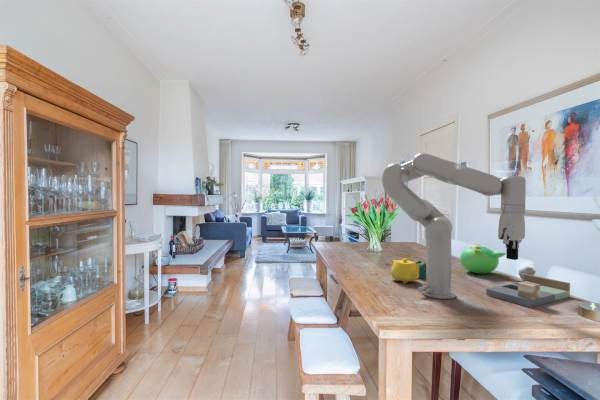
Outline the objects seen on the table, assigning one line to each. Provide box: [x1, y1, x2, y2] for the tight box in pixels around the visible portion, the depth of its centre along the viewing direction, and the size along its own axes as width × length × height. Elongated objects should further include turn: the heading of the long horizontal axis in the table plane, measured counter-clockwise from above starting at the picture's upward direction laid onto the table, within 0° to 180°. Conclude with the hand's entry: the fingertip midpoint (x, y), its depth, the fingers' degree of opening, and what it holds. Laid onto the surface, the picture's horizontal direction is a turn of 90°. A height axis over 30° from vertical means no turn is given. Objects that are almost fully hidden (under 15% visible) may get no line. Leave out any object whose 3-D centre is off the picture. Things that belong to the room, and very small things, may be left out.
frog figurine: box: [518, 266, 536, 281], centre depth 147 cm, size 6×7×7 cm
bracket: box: [413, 260, 426, 280], centre depth 157 cm, size 18×7×8 cm, turn 113°
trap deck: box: [485, 274, 571, 308], centre depth 124 cm, size 28×16×6 cm, turn 116°
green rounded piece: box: [459, 244, 506, 274], centre depth 162 cm, size 18×17×15 cm
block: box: [517, 280, 540, 300], centre depth 115 cm, size 5×5×5 cm
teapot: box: [390, 258, 421, 285], centre depth 146 cm, size 18×11×11 cm, turn 28°
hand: (512, 258), depth 114 cm, fingers closed
